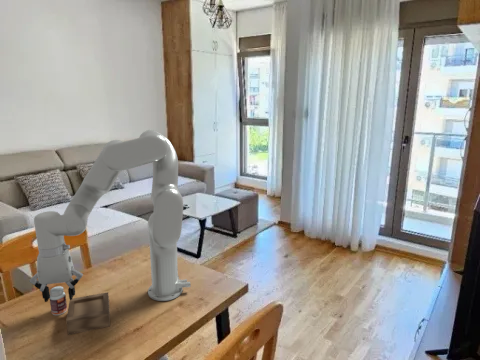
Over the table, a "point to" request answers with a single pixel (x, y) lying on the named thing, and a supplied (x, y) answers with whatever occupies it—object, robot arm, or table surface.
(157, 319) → the table surface
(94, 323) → the walnut tray
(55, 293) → the pill bottle
